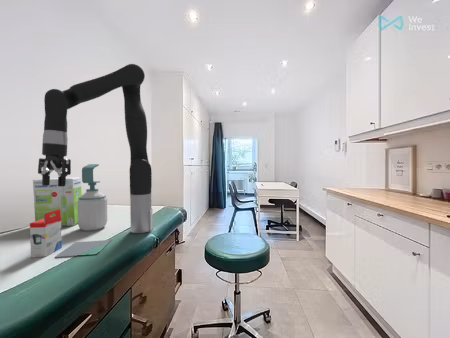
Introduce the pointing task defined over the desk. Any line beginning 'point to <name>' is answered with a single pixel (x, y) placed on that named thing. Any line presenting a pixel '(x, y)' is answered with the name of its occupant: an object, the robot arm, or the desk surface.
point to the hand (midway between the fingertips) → (53, 185)
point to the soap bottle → (91, 203)
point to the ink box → (46, 235)
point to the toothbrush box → (57, 199)
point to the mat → (80, 248)
